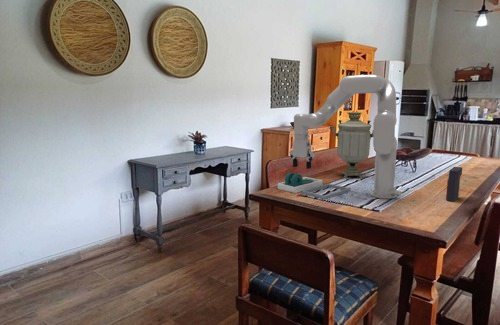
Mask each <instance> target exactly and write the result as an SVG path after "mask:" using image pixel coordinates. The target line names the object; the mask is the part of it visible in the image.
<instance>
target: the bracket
mask: <svg viewBox="0 0 500 325" xmlns="http://www.w3.org/2000/svg"><path fill="white" fill-rule="evenodd" d="M284 182H285V185H288V186H293V187H297V186H301V185H305V184H308V183H312V182H314V180H312V179H303V176H302V174H300V173H294V172H288V173H286V174H285V178H284Z"/></svg>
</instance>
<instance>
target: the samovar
mask: <svg viewBox="0 0 500 325" xmlns="http://www.w3.org/2000/svg"><path fill="white" fill-rule="evenodd" d="M346 113H347V115H348V120H347V121H344V122H343V121H342V119H340V120H338V124H337V128H338V131H337V129H336V128H335V126H333V125H332V126H329V130H332V131H333V132H332V134H333V135H334V136H335V137H336V140H337V145H336V153H337V156H338V158H340V159H341V160H342V161H344V162H346V166H347V168H345V169H344V170H343V172H342V173H341V174H340V175H343V179H347V178H348V176H349V177H350V176H354V177H355V176H357V177H359V178H360V179H363V178H364V177H363V176H362V175H361V174H362V173H361V171H360V170H359V169H358V168H357V167H358V166H359V163H362V162H363V161H365V160H366V159H367V158H369V156H370V149H371V138H373V130H371V128H372V124H371V122H372V121H371V120H370V119H369V120H367V122H366V123H365V122H364V121H362V120H361V115H362V113H363V112H362V111H347V112H346ZM371 131H372V132H371Z"/></svg>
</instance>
